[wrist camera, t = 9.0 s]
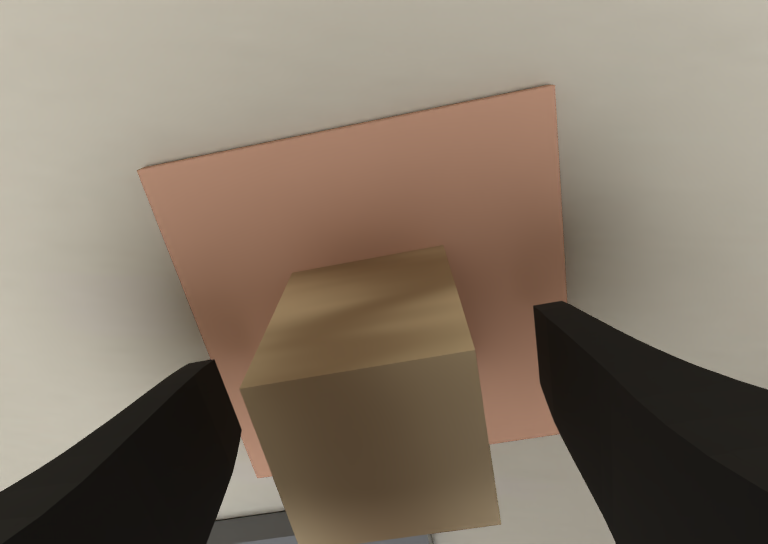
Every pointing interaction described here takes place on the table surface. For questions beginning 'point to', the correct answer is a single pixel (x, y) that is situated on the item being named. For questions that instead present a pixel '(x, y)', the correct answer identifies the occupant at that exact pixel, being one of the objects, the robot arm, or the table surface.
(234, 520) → the pocket board
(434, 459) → the oak block
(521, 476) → the table surface
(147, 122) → the table surface
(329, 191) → the pad
